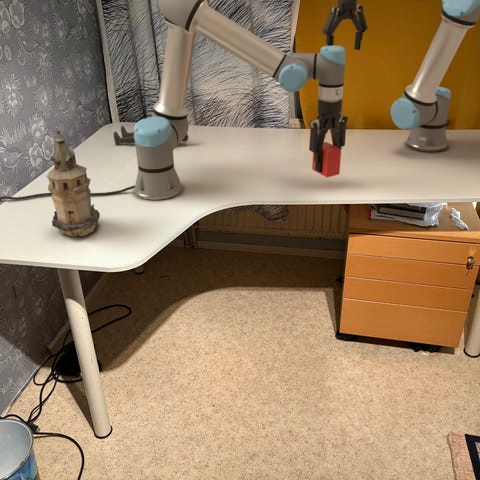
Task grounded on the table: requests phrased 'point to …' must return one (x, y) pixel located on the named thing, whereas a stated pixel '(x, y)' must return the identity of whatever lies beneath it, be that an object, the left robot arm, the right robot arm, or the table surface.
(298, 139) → the table surface
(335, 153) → the block
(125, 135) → the toy
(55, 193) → the miniature building
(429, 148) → the right robot arm
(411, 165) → the table surface
